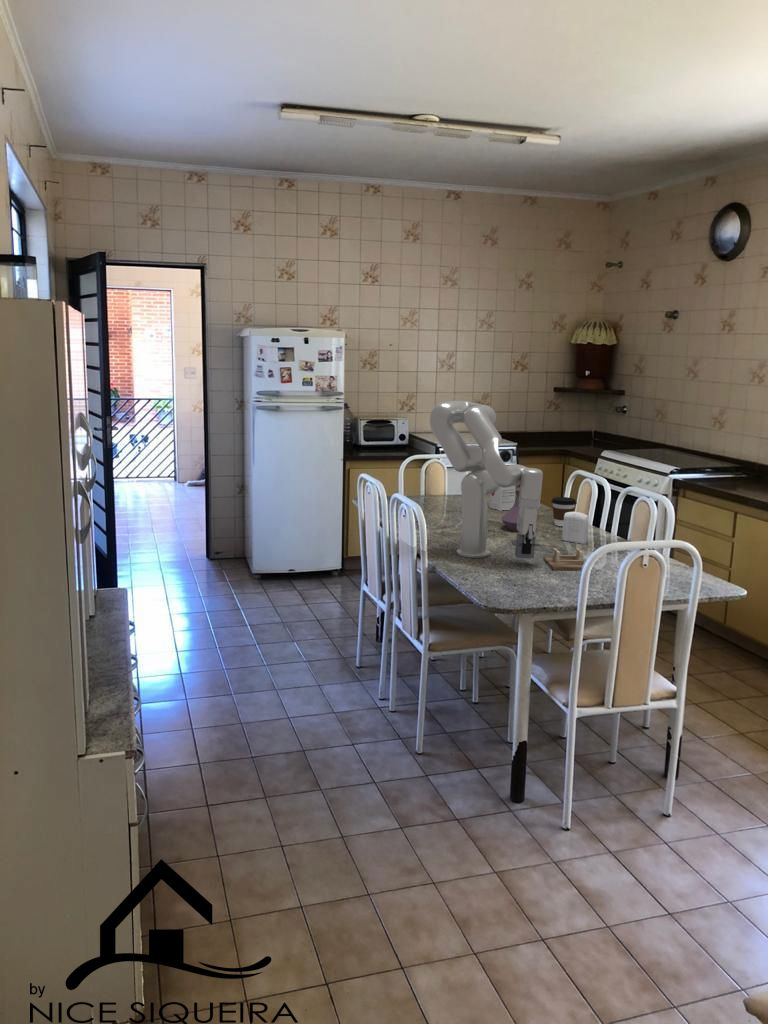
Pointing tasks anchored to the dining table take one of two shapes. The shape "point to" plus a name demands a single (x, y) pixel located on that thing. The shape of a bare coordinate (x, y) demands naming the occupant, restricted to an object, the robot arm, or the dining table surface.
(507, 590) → the dining table surface
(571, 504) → the coffee cup
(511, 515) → the flask
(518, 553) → the servo block
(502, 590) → the dining table surface
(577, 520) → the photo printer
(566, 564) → the dock
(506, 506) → the supplement box
